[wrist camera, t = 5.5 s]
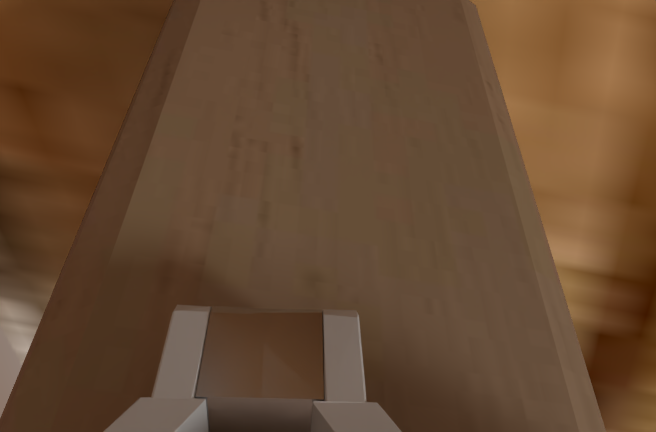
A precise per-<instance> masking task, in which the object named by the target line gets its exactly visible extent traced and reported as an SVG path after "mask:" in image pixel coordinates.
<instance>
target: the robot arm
mask: <svg viewBox="0 0 656 432" xmlns="http://www.w3.org/2000/svg"><path fill="white" fill-rule="evenodd" d="M103 432H402V431H401V430H400V429H399V428H398V427H397V425H396V424H395V423H394V422H393V421H392V419H391V418H390V417H389V416H388V415H387V414H386V412H385V411H384V410H383V409H382V408H381V406H380V405H379V404H378V403H376V402H367V400H366V389H365V378H364V367H363V356H362V345H361V333H360V322H359V315H358V313H357V311H356V310H324V309H323V311H322V310H320V309H270V308H243V307H225V306H213V307H210V306H193V305H177V306H176V308H175V309H174V311H173V313H172V316H171V320H170V324H169V328H168V332H167V336H166V340H165V344H164V348H163V352H162V356H161V360H160V364H159V368H158V372H157V376H156V380H155V384H154V388H153V392H152V396H151V397H140V398H139V399H138V400H137V401H136V402H135V403H134V404H132V405H131V406H130V407H129V408H128V409H127V410H126V411H125V412H124V413H123V414H122V415H121V416H120V417H118V418H117V419H116V420H115V421H114V422H113V423H112V424H111V425H110V426H109V427H108V428H107V429H106V430H104V431H103Z"/></svg>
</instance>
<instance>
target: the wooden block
mask: <svg viewBox="0 0 656 432" xmlns="http://www.w3.org/2000/svg"><path fill="white" fill-rule="evenodd" d="M177 305H193V306H210V307H213V306H225V307H243V308H270V309H320V310H322V311H323V309H324V310H356V311H357V313H358V315H359V322H360V333H361V345H362V356H363V367H364V378H365V389H366V400H367V402H376V403H378V404H379V405H380V406H381V408H382V409H383V410H384V411H385V412H386V414H387V415H388V416H389V417H390V418H391V419H392V421H393V422H394V423H395V424H396V425H397V427H398V428H399V429H400V430H401V431H402V432H606V430H605V427H604V424H603V420H602V417H601V414H600V411H599V407H598V404H597V401H596V397H595V394H594V391H593V388H592V384H591V381H590V378H589V375H588V371H587V368H586V365H585V361H584V358H583V355H582V352H581V348H580V345H579V342H578V339H577V335H576V332H575V329H574V326H573V322H572V319H571V316H570V312H569V309H568V306H567V303H566V299H565V296H564V293H563V290H562V286H561V283H560V280H559V276H558V273H557V270H556V267H555V263H554V260H553V257H552V254H551V250H550V247H549V244H548V240H547V237H546V234H545V231H544V227H543V224H542V221H541V218H540V214H539V211H538V208H537V205H536V201H535V198H534V195H533V191H532V188H531V185H530V182H529V178H528V175H527V172H526V169H525V165H524V162H523V159H522V155H521V152H520V149H519V146H518V142H517V139H516V136H515V133H514V129H513V126H512V123H511V119H510V116H509V113H508V110H507V106H506V103H505V100H504V97H503V93H502V90H501V87H500V84H499V80H498V77H497V74H496V70H495V67H494V64H493V61H492V57H491V54H490V51H489V48H488V44H487V41H486V38H485V34H484V31H483V28H482V25H481V21H480V18H479V15H478V12H477V8H476V5H474V4H473V3H472V2H470V1H469V0H174V1H173V3H172V6H171V8H170V11H169V13H168V15H167V18H166V20H165V23H164V25H163V27H162V30H161V32H160V35H159V37H158V39H157V42H156V44H155V47H154V49H153V52H152V54H151V56H150V59H149V61H148V64H147V66H146V68H145V71H144V73H143V76H142V78H141V80H140V83H139V85H138V88H137V90H136V93H135V95H134V97H133V100H132V102H131V105H130V107H129V109H128V112H127V114H126V117H125V119H124V121H123V124H122V126H121V129H120V131H119V134H118V136H117V138H116V141H115V143H114V146H113V148H112V150H111V153H110V155H109V158H108V160H107V162H106V165H105V167H104V170H103V172H102V175H101V177H100V179H99V182H98V184H97V187H96V189H95V191H94V194H93V196H92V199H91V201H90V203H89V206H88V208H87V211H86V213H85V216H84V218H83V220H82V223H81V225H80V228H79V230H78V232H77V235H76V237H75V240H74V242H73V244H72V247H71V249H70V252H69V254H68V257H67V259H66V261H65V264H64V266H63V269H62V271H61V273H60V276H59V278H58V281H57V283H56V285H55V288H54V290H53V293H52V295H51V298H50V300H49V302H48V305H47V307H46V310H45V312H44V314H43V317H42V319H41V322H40V324H39V326H38V329H37V331H36V334H35V336H34V339H33V341H32V343H31V346H30V348H29V351H28V353H27V355H26V358H25V360H24V363H23V365H22V367H21V370H20V372H19V375H18V377H17V380H16V382H15V384H14V387H13V389H12V392H11V394H10V396H9V399H8V402H7V404H6V406H5V409H4V411H3V414H2V416H1V418H0V432H103V431H104V430H106V429H107V428H108V427H109V426H110V425H111V424H112V423H113V422H114V421H115V420H116V419H117V418H118V417H120V416H121V415H122V414H123V413H124V412H125V411H126V410H127V409H128V408H129V407H130V406H131V405H132V404H134V403H135V402H136V401H137V400H138V399H139V398H140V397H151V396H152V392H153V388H154V384H155V380H156V376H157V372H158V368H159V364H160V360H161V356H162V352H163V348H164V344H165V340H166V336H167V332H168V328H169V324H170V320H171V316H172V313H173V311H174V309H175V308H176V306H177Z"/></svg>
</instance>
